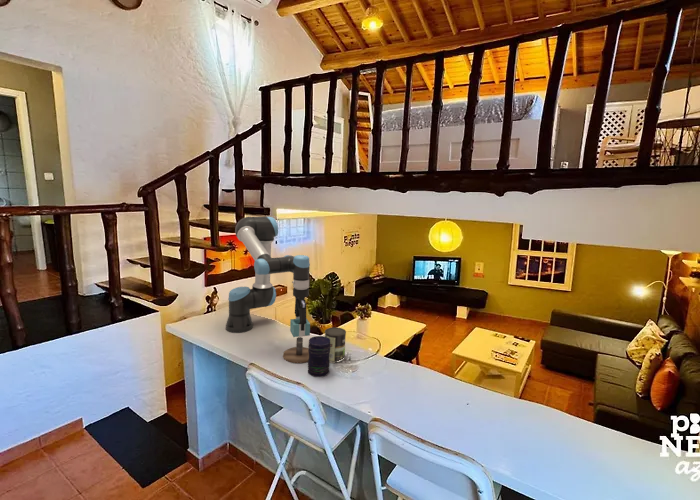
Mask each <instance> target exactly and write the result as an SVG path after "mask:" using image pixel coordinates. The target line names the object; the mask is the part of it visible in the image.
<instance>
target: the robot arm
mask: <svg viewBox="0 0 700 500" xmlns="http://www.w3.org/2000/svg"><path fill="white" fill-rule="evenodd" d="M278 225H279V224H278V221H276V219H275V218H274V217H273V216H266V215H265V216H246V217H245V216H244V217H243V218H241V219H239V221H238V222H237V223H236V225H235V228H234V229H235V230H234V232H235V237H236V238H237V240H238V241H239V242H242V243H243V245H244V246H245V248H246V250H247V251H248V253H249V254H250V256H251V257H252V258H253V260H254V263H253V267H254V268H253V269H254V272H255V274H254V276H255V277H254V278H255V280H254V283H252V285H251V286H252V287H251V288H250V287H249V286H238V287H235V288H232V289H230V291H229V292H228V299H227V300H228V317H227V319H226V323H225V330H226V331H227V332H230V333H245V332H248V331H251V330H252V329H253V328H254V322H253V319H252V316H251V310H253V309H260V308H267V307H270V306H272V305H274V304H275V301H276V299H277V292H276V291H277V290H276V288H275V286H273V283H272V282H271V275H272V274H281V273H292V274H293V278H292V280H293V281H292V282H291V283H292V286H293V287H292V296H293V297H294V298H295V301H294V314H295V315H294V316H295V319H300V323H298V324H299V337H302V338H303V337H306V336H305V324H306V323H307V322H306V318H307V302H306V299H305V298H307V297H308V296H309V294H310V292H309V291H310V269H311V268H310V266H311V263H310V257H309V256H308V255H303V254H297V255H295V256H294V255H291V254H289V255H288V254H287V255H284V256H283V257H282V256H281V257H279V256H278V257H272V243H273V242H274V241H275V238H276V237H278V235H279V226H278Z"/></svg>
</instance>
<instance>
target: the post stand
mask: <svg viewBox="0 0 700 500" xmlns="http://www.w3.org/2000/svg"><path fill="white" fill-rule="evenodd" d="M303 343H304V339H303V337H296V344H295V345H296V347H291V348H287V349H285V351H283V352H282V357H283V358H282V359H284V360H285V361H286V362H288V363H291V364H305V363H308V359H309V352H308V347H304V345H303Z"/></svg>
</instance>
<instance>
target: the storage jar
mask: <svg viewBox="0 0 700 500" xmlns="http://www.w3.org/2000/svg"><path fill="white" fill-rule="evenodd" d="M307 348H308V352H309V359H308V362H307V374H308V375H310V376H311V377H315V378H321V377H322V378H323V377H325V376H327V375H329V373H330V360H329V353H330V339H329V338H327V337H325V335H321V336H320V335H316V336H312V337H310V338H309V339H308V347H307Z"/></svg>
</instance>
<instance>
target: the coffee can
mask: <svg viewBox="0 0 700 500" xmlns="http://www.w3.org/2000/svg"><path fill="white" fill-rule="evenodd" d="M346 335H347V331H346V330H345V329H344V328H341V327H328V328H326V329H325V330H324V337H327V338H329V339H330V353H329V360H330V363H331V364H336V363H335V362H337V361H339V360H341V359H343V358H344V357H345V356H346V355H345V353H346ZM345 358H346V357H345Z"/></svg>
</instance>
